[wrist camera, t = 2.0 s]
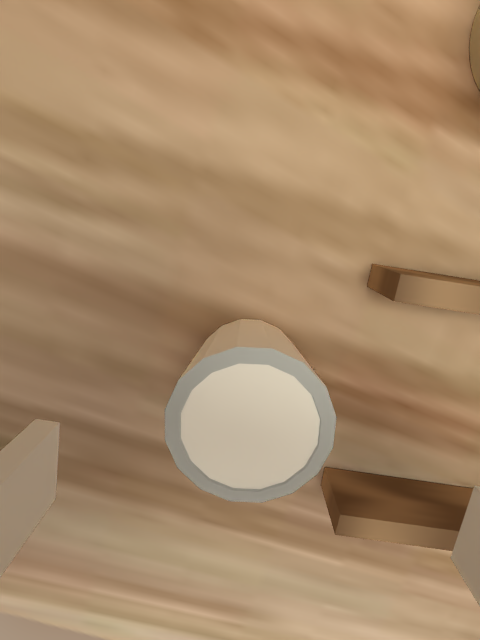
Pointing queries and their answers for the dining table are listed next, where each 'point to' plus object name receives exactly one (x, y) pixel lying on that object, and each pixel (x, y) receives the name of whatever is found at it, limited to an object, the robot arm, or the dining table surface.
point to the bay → (397, 493)
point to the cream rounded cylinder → (475, 49)
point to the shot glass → (249, 415)
